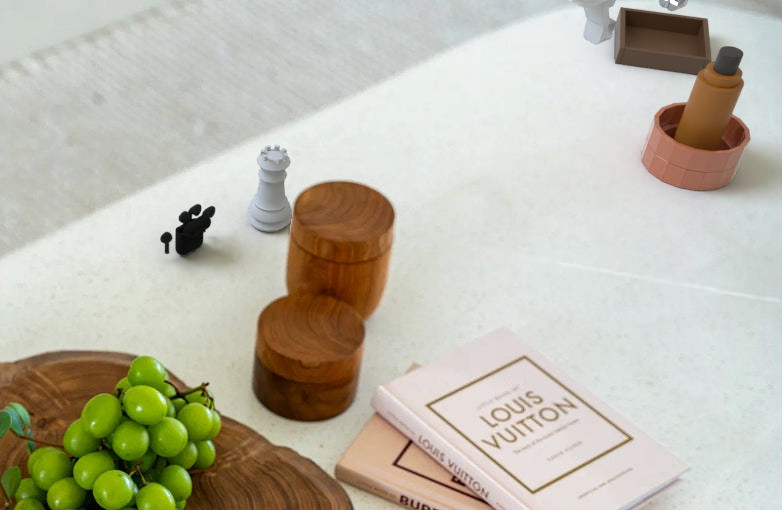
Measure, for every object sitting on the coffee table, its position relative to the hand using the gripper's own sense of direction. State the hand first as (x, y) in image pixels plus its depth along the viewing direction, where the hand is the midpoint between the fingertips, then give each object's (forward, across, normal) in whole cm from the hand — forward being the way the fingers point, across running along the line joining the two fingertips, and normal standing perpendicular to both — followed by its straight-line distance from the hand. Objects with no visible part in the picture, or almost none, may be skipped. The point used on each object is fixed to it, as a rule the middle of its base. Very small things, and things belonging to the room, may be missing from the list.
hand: (634, 22), depth 96 cm
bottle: (+23, +20, +1) cm, 30 cm away
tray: (+23, +36, +19) cm, 47 cm away
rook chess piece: (+23, -22, +19) cm, 37 cm away
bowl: (+23, +20, +1) cm, 31 cm away
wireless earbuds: (+23, -32, +19) cm, 43 cm away
